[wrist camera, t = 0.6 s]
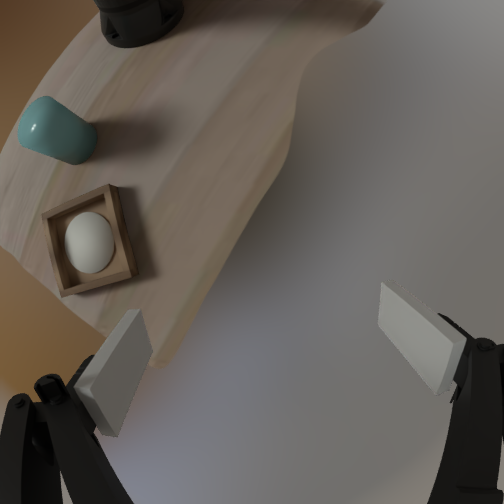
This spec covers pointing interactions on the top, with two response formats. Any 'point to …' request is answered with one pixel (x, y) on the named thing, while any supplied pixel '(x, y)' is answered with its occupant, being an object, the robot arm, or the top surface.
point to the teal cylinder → (56, 132)
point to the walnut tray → (55, 229)
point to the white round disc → (89, 242)
